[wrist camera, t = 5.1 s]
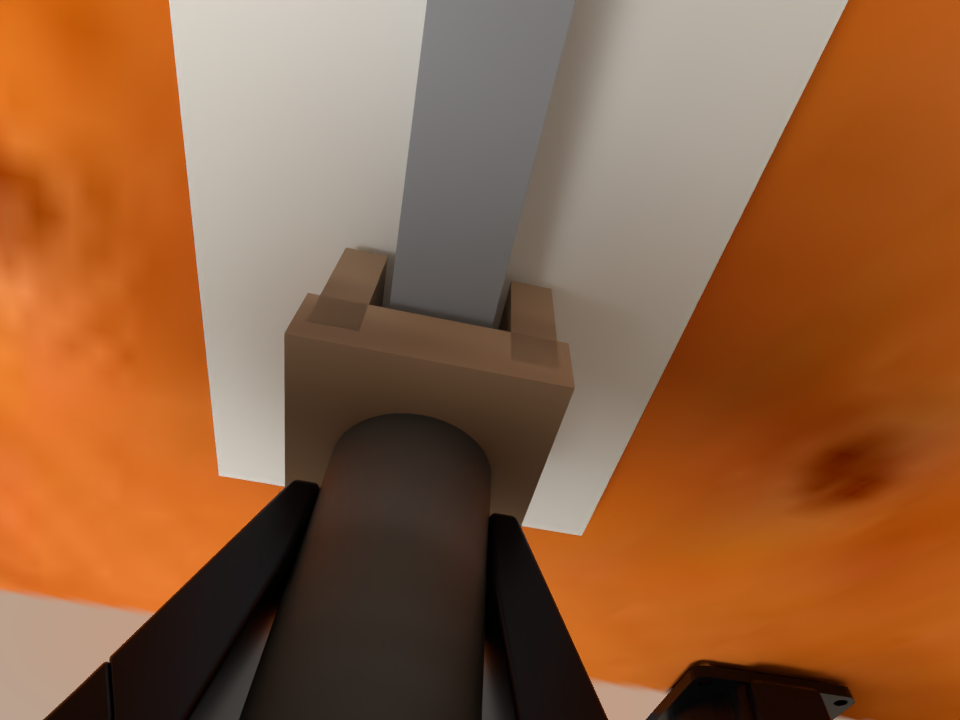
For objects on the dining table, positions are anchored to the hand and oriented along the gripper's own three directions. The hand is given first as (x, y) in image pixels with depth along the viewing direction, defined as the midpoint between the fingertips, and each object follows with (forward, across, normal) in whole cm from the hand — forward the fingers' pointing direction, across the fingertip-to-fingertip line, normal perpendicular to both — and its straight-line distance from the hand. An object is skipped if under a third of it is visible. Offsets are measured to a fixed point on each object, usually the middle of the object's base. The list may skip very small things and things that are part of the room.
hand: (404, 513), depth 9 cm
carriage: (+4, 0, 0) cm, 4 cm away
